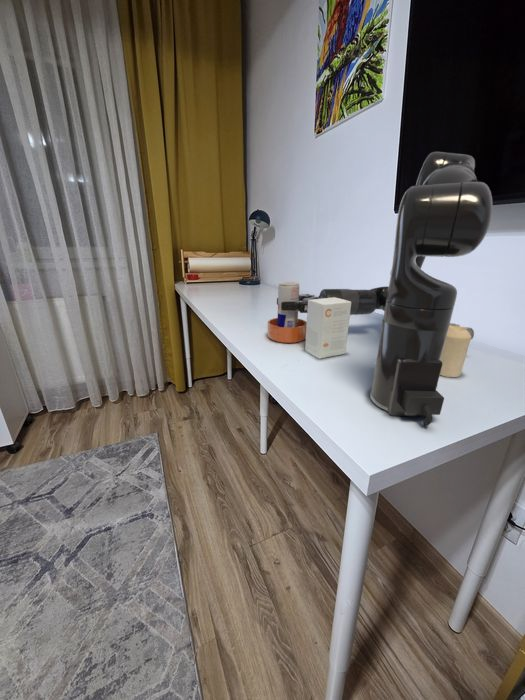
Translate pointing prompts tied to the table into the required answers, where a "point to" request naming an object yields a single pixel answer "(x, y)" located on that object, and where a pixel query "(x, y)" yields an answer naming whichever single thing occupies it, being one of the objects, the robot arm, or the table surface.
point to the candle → (454, 351)
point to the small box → (327, 326)
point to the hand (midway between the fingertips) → (279, 303)
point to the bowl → (287, 332)
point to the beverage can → (287, 294)
